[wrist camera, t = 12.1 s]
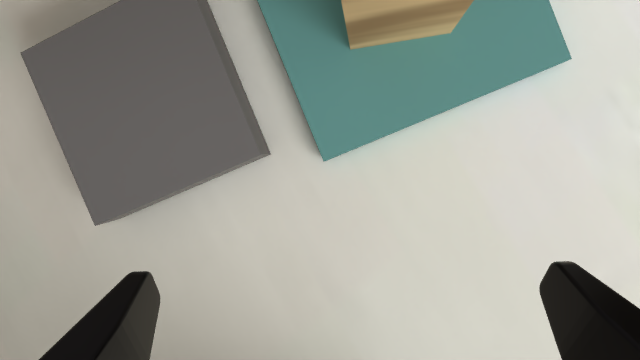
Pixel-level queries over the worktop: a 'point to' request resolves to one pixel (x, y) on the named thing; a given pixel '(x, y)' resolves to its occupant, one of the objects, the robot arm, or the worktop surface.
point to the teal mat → (405, 65)
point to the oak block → (399, 19)
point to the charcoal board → (144, 103)
